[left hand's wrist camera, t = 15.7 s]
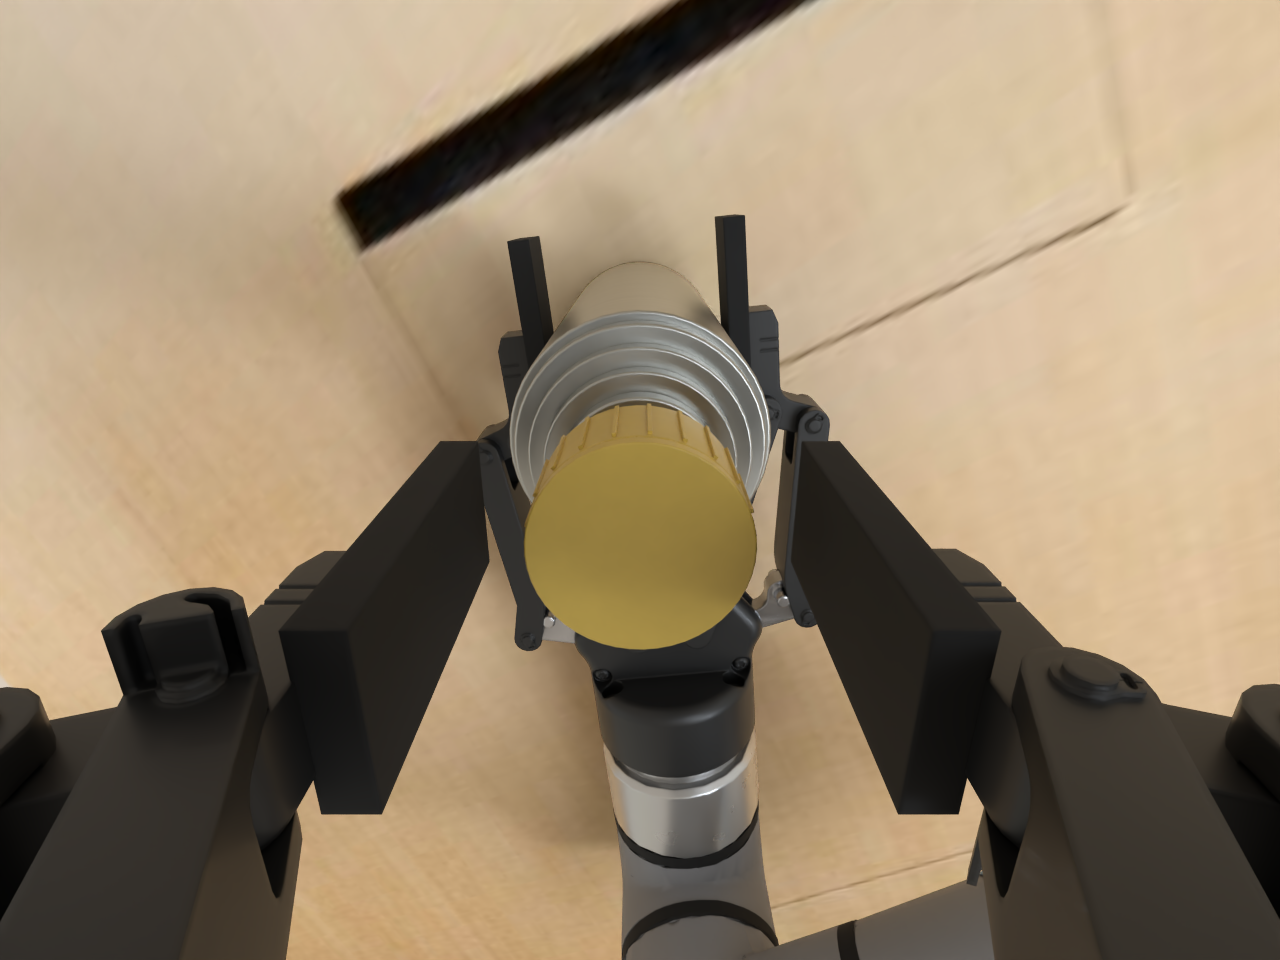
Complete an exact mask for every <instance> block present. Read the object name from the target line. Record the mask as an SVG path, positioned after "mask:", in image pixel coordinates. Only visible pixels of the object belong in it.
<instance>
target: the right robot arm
mask: <svg viewBox="0 0 1280 960" xmlns="http://www.w3.org/2000/svg"><path fill="white" fill-rule="evenodd" d="M715 228H716V245H717V263H718V280H719V297H720V315H721V326H722V327H723V329H724V330H725V332H726V333H727V334H728V336H729V337H730V339H731V340H732V342H733V343H734V345H735V346H736V347H737V349H738V350H739V352H740V353H741V355H742V356H743V358H744V359H745V361H746V362H747V363H748V365H749V367H750V368H751V370H752V371H753V373H754V374H755V376H756V378H757V380H758V382H759V384H760V386H761V389H762V391H763V393H764V397H765V400H766V403H767V407H768V412H769V418H770V425H771V442H770V450H769V453H770V451H771V448H772V445H773V442H774V439H775V436H776V433H777V430H778V429H782V430H784V439H783V451H782V462H781V473H780V485H779V496H778V507H777V518H776V530H775V541H774V556H775V563H776V567H777V570H776V569H773V570H771V571H770V572H769V573H768V575H767V577H766V578H765V580H764V590H763V592H762V594H761V595H760V596H759V597H758V598H755V599H752V598H751V597H750V596H749V595H748V594H747V593H746V591H745V592H744V593H743V595H742V597H741V598H740V600H739V601H738V603H737V604H736V605H735V606H734V608H733V609H732V610H731V611H730V612H729V613H728V614H727V615H726V616H725V617H724V618H723V619H722V620H721V621H720V622H718V623H717V624H716V625H714V626H713V627H712V628H711V629H709V630H707V631H705V632H704V633H702V634H700V635H699V636H697V637H694V638H692V639H690V640H687V641H685V642H682V643H679V644H675V645H672V646H667V647H662V648H655V649H626V648H618V647H613V646H609V645H605V644H601V643H599V642H596V641H593V640H591V639H588V638H586V637H584V636H582V635H580V634H578V633H577V632H575V631H573V630H572V629H571V628H569V627H568V626H566V625H565V624H563V623H562V622H561V621H560V620H559V619H558V618H556V617H555V616H554V615H553V614H552V613H551V611H550V610H549V609H548V608H547V607H546V606H545V605H544V603H543V602H542V600H541V599H540V597H539V596H538V594H537V592H536V590H535V588H534V586H533V584H532V582H531V580H530V577H529V574H528V571H527V568H526V562H525V557H524V535H525V527H524V526H525V521H526V518H527V516H528V513H529V510H530V508H531V505H530V501H529V498H528V497H527V495H526V493H525V492H524V490H523V488H522V486H521V483H520V481H519V479H518V477H517V474H516V470H515V467H514V464H513V460H512V454H511V448H510V422H511V413H512V409H513V405H514V401H515V398H516V395H517V392H518V390H519V388H520V385H521V383H522V381H523V379H524V377H525V375H526V374H527V372H528V370H529V369H530V367H531V365H532V364H533V363H534V361H535V360H536V358H537V357H538V355H539V354H540V352H541V351H542V349H543V348H544V347H545V345H546V344H547V342H548V341H549V339H550V338H551V336H552V335H553V333H554V331H553V325H552V318H551V311H550V305H549V298H548V291H547V284H546V278H545V271H544V264H543V258H542V251H541V244H540V238H539V236H536V237H527V238H519V239H515V240H511V241H507V243H508V249H509V255H510V261H511V267H512V273H513V279H514V285H515V291H516V297H517V303H518V309H519V315H520V321H521V327H522V330H520V331H510V332H507V333H506V334H505V335H504V336H503V337H502V338H501V341H500V346H499V351H498V353H499V359H500V364H501V370H502V375H503V381H504V386H505V392H506V397H507V403H508V408H509V418H508V419H506V420H505V421H503V422H501V423H498V424H496V425H490V426H488V427H486V429H485V430H484V431H483V432H482V434H481V435H480V436H479V438H478V439H477V441H478V444H479V455H480V466H481V476H482V487H483V498H484V506H485V509H486V512H487V515H488V518H489V521H490V524H491V527H492V530H493V533H494V536H495V540H496V543H497V546H498V549H499V552H500V555H501V558H502V561H503V564H504V567H505V570H506V573H507V576H508V579H509V582H510V585H511V588H512V591H513V594H514V598H515V601H516V604H517V615H516V627H515V643H516V645H517V646H518V647H519V648H521V649H522V650H525V651H533V650H535V649H537V648H538V647H539V646H540V645H541V642H542V640H550V641H558V642H567V643H575V645H576V648H577V650H578V651H579V653H580V654H581V655H582V656H583V657H584V658H585V660H586V661H587V663H588V664H589V666H590V669H591V674H592V680H593V687H594V693H595V699H596V705H597V712H598V718H599V724H600V730H601V736H602V739H603V741H604V746H603V751H604V757H605V763H606V768H607V774H608V780H609V786H610V791H611V797H612V803H613V811H614V815H615V820H616V824H617V831H618V839H619V848H620V856H621V865H622V878H623V907H622V960H995V959H994V952H993V945H992V938H991V930H990V923H989V916H988V909H987V901H986V894H985V887H984V880H983V872H982V871H981V872H980V874H979V878H978V882H977V886H972V885H969V884H966V883H967V880H965V881H962V882H959V883H957V884H954V885H951V886H948V887H946V888H943V889H940V890H938V891H935V892H932V893H930V894H927V895H924V896H922V897H919V898H916V899H914V900H911V901H908V902H905V903H903V904H900V905H897V906H895V907H892V908H889V909H887V910H884V911H881V912H879V913H876V914H873V915H870V916H868V917H865V918H862V919H860V920H855V921H850V922H847V923H844V924H841V925H838V926H835V927H832V928H829V929H826V930H823V931H820V932H817V933H814V934H811V935H808V936H805V937H802V938H799V939H797V940H794V941H791V942H788V943H785V944H782V945H779V944H778V939H777V937H776V935H775V929H774V924H773V919H772V913H771V908H770V903H769V897H768V892H767V887H766V881H765V875H764V868H763V859H762V848H761V837H760V826H759V814H758V810H759V801H758V796H759V782H758V765H757V748H756V733H755V728H754V724H755V708H754V688H753V668H752V652H753V648H754V646H755V644H756V642H757V640H758V639H759V637H760V635H761V632H762V628H763V627H766V626H770V625H773V624H776V623H780V622H783V621H787V620H790V619H793V618H794V619H795V621H796V623H797V624H798V625H800V626H802V627H812V626H814V625H816V624H817V622H816V620H815V618H814V615H813V613H812V611H811V608H810V606H809V604H808V601H807V599H806V597H805V594H804V592H803V589H802V587H801V585H800V582H799V580H798V578H797V575H796V573H795V571H794V568H793V566H792V564H791V551H792V540H793V530H794V519H795V508H796V498H797V487H798V476H799V466H800V455H801V444H802V441H828V436H829V428H830V422H829V418H828V416H827V415H826V413H825V412H824V411H823V410H822V409H821V408H820V407H819V406H818V405H817V404H816V402H815V401H814V400H813V399H812V398H811V397H809V396H808V395H804V394H799V395H796V394H792V393H788V392H785V391H782V390H781V388H780V373H779V340H778V337H779V335H778V321H777V319H776V317H775V315H774V312H773V310H772V309H771V308H769V307H768V306H767V305H759V306H749V303H748V279H747V256H746V232H745V215H726V216H717V217H715ZM756 492H757V491H756ZM756 492H755V494H754V496H753V497H752V499H751V501H750V502H751V505H752V503H753V500H754V498H755V495H756Z"/></svg>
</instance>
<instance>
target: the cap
mask: <svg viewBox="0 0 1280 960" xmlns="http://www.w3.org/2000/svg"><path fill="white" fill-rule="evenodd" d="M533 497H534V499H533V502H532V505H531V508H530V510H529V513H528V516H527V518H526V521H525V526H524V527H525V535H524V557H525V562H526V568H527V571H528V574H529V577H530V580H531V582H532V584H533V586H534V588H535V590H536V592H537V594H538V596H539V597H540V599H541V600H542V602H543V603H544V605H545V606H546V607H547V608H548V609H549V610H550V611H551V613H552V614H553V615H554V616H555V617H556V618H558V619H559V620H560V621H561V622H562V623H563V624H565V625H566V626H568V627H569V628H571V629H572V630H573V631H575V632H577V633H578V634H580V635H582V636H584V637H586V638H588V639H591V640H593V641H596V642H599V643H601V644H605V645H609V646H613V647H618V648H626V649H655V648H662V647H667V646H672V645H675V644H679V643H682V642H685V641H687V640H690V639H692V638H694V637H697V636H699V635H700V634H702V633H704V632H705V631H707V630H709V629H711V628H712V627H713V626H714V625H716V624H717V623H718V622H720V621H721V620H722V619H723V618H724V617H725V616H726V615H727V614H728V613H729V612H730V611H731V610H732V609H733V608H734V606H735V605H736V604H737V603H738V601H739V600H740V598H741V597H742V595H743V593H744V592H745V590H746V588H747V586H748V584H749V581H750V579H751V576H752V573H753V570H754V566H755V562H756V553H757V537H756V530H755V525H754V520H753V517H752V515H751V513H754V511H753V507H752V505H751V502H750V499H749V497H748V494H747V491H746V489H745V486H744V483H743V481H742V478H741V475H740V473H739V474H738V473H737V470H736V467H735V465H734V462H733V459H732V456H731V454H730V451H729V449H728V447H726V448H724V447H723V445H722V444H721V443H720V441H719V440H718V439H717V438H716V437H715V436H714V435H713V434H712V433H711V432H710V429H709V427H708V426H707V425H706V426H705V427H704V426H703V425H701V424H700V423H698V422H697V421H695V420H693V419H692V418H690V417H688V416H686V415H684V414H683V413H682V411H680V410H678V412H677V411H673V410H670V409H667V408H662V407H656V406H651V404H649V403H647V405H634V406H623V407H619V405H618V406H615V408H614V409H610V410H607V411H604V412H602V413H599V414H597V415H595V416H593V417H591V418H590V417H589V416H588V417H586V418H585V421H584V422H582V423H581V424H579V425H578V426H577V427H575V428H574V429H573V430H572V431H571V432H570V433H569V434H567V435H566V436H565V435H563V436H562V437H561V439H560V442H559V445H558V446H557V447H556V449H555V451H554V452H553V454H552V456H551V457H550V459H549V460H548V459H546V461H545V463H544V466H543V469H542V471H541V474H540V477H539V479H538V482H537V485H536V487H535V490H534V493H533Z"/></svg>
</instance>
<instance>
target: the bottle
mask: <svg viewBox="0 0 1280 960" xmlns="http://www.w3.org/2000/svg"><path fill="white" fill-rule="evenodd" d="M647 403H649V404H651V406H656V407H662V408H667V409H670V410H673V411H677V412H678V410H680V411H682V413H683V414H684V415H686V416H688V417H690V418H692V419H693V420H695V421H697V422H698V423H700V424H701V425H703V426H704V427H705V426H706V425H707V426H708V427H709V429H710V432H711V433H712V434H713V435H714V436H715V437H716V438H717V439H718V440H719V441H720V443H721V444H722V445H723V447H724V448H726V447H728V449H729V451H730V454H731V456H732V459H733V462H734V465H735V467H736V470H737V473H738V474H739V473H740V475H741V478H742V481H743V483H744V486H745V489H746V491H747V494H748V497H749V499H750V501H751V499H752V497H753V496H754V494H755V492H756V491H757V489H758V487H759V485H760V482H761V480H762V477H763V475H764V473H765V469H766V465H767V461H768V458H769V450H770V442H771V425H770V418H769V412H768V407H767V403H766V400H765V397H764V393H763V391H762V389H761V386H760V384H759V382H758V380H757V378H756V376H755V374H754V373H753V371H752V370H751V368H750V367H749V365H748V363H747V362H746V361H745V359H744V358H743V356H742V355H741V353H740V352H739V350H738V349H737V347H736V346H735V345H734V343H733V342H732V340H731V339H730V337H729V336H728V334H727V333H726V332H725V330H724V329H723V327H722V326H721V324H720V323H719V321H718V320H717V319H716V317H715V316H714V314H713V313H712V311H711V310H710V308H709V307H708V306H707V304H706V303H705V301H704V300H703V298H702V297H701V295H700V294H699V293H698V291H697V290H696V289H695V287H694V286H693V285H692V284H691V283H690V282H689V281H688V280H687V279H686V278H684V277H683V276H682V275H680V274H679V273H677V272H676V271H674V270H672V269H670V268H668V267H665V266H662V265H659V264H654V263H649V262H632V263H626V264H621V265H618V266H615V267H613V268H610V269H608V270H607V271H605V272H603V273H601V274H600V275H599V276H597V277H596V278H595V279H593V280H592V281H591V282H590V283H589V284H588V285H587V286H586V288H585V289H584V290H583V292H582V293H581V294H580V296H579V297H578V299H577V300H576V301H575V303H574V304H573V306H572V307H571V309H570V310H569V312H568V313H567V315H566V316H565V317H564V319H563V320H562V322H561V323H560V325H559V326H558V328H557V329H556V331H555V332H554V333H553V335H552V336H551V338H550V339H549V341H548V342H547V344H546V345H545V347H544V348H543V349H542V351H541V352H540V354H539V355H538V357H537V358H536V360H535V361H534V363H533V364H532V365H531V367H530V369H529V370H528V372H527V374H526V375H525V377H524V379H523V381H522V383H521V385H520V388H519V390H518V392H517V395H516V398H515V401H514V405H513V409H512V413H511V422H510V448H511V454H512V460H513V464H514V467H515V470H516V474H517V477H518V479H519V481H520V483H521V486H522V488H523V490H524V492H525V493H526V495H527V497H528V498H529V500H530V501H531V503H532V502H533V499H534V497H533V493H534V490H535V487H536V485H537V482H538V479H539V477H540V474H541V471H542V469H543V466H544V463H545V461H546V459H548V460H549V459H550V457H551V456H552V454H553V452H554V451H555V449H556V447H557V446H558V445H559V442H560V439H561V437H562V436H563V435H565V436H566V435H567V434H569V433H570V432H571V431H572V430H573V429H574V428H575V427H577V426H578V425H579V424H581V423H582V422H584V421H585V418H586V417H588V416H589V417H590V418H591V417H593V416H595V415H597V414H599V413H602V412H604V411H607V410H610V409H614V408H615V406H618V405H619V407H623V406H634V405H647Z"/></svg>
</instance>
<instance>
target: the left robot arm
mask: <svg viewBox="0 0 1280 960" xmlns="http://www.w3.org/2000/svg"><path fill="white" fill-rule="evenodd" d="M488 564H489V551H488V540H487V530H486V519H485V508H484V498H483V487H482V476H481V466H480V455H479V444H478V441H440V442H439V443H438V445H437V446H436V447H435V448H434V449H433V450H432V452H431V453H430V454H429V455H428V456H427V458H426V459H425V460H424V461H423V462H422V463H421V465H420V466H419V467H418V468H417V469H416V470H415V472H414V473H413V474H412V475H411V476H410V477H409V479H408V480H407V481H406V482H405V483H404V484H403V486H402V487H401V488H400V489H399V490H398V491H397V493H396V494H395V495H394V496H393V497H392V498H391V500H390V501H389V502H388V503H387V504H386V505H385V507H384V508H383V509H382V510H381V511H380V512H379V514H378V515H377V516H376V517H375V518H374V519H373V521H372V522H371V523H370V524H369V525H368V527H367V528H366V529H365V530H364V531H363V532H362V534H361V535H360V536H359V537H358V538H357V539H356V541H355V542H354V543H353V544H352V545H351V546H350V548H349V549H348V550H347V551H324V552H322V553H320V554H319V555H317V556H315V557H313V558H312V559H310V560H308V561H306V562H305V563H303V564H301V565H299V566H297V567H296V568H295V569H294V570H293V571H292V572H291V573H290V575H289V576H288V577H287V578H286V579H285V580H284V581H283V582H282V583H281V584H280V585H279V589H275V590H274V591H273V592H272V593H271V594H270V595H269V597H268V598H267V599H266V600H265V603H264V605H260V606H259V607H258V608H257V609H256V610H255V611H254V612H253V613H252V614H251V615H250V616H249V617H248V616H247V612H246V608H245V604H244V600H243V597H241V596H240V595H239V594H237V593H236V592H234V591H233V590H228V589H222V588H216V587H210V588H195V589H187V590H183V591H178V592H174V593H169V594H165V595H162V596H159V597H156V598H154V599H151V600H148V601H146V602H143V603H140V604H138V605H136V606H134V607H132V608H130V609H129V610H127V611H125V612H123V613H122V614H120V615H118V616H116V617H115V618H114V619H113V620H112V621H111V622H110V623H109V624H108V625H107V626H106V627H105V628H103V629H102V630H101V633H102V635H103V638H104V641H105V644H106V647H107V650H108V652H109V655H110V658H111V661H112V664H113V667H114V670H115V672H116V675H117V678H118V681H119V684H120V687H121V690H122V692H123V697H122V699H121V701H120V703H119V705H118V706H117V707H114V708H110V709H105V710H100V711H94V712H89V713H84V714H79V715H74V716H69V717H64V718H59V719H54V720H49V719H48V717H47V714H46V712H45V709H44V707H43V704H42V702H41V699H40V697H39V696H38V695H37V694H35V693H34V692H32V691H31V690H29V689H24V688H11V687H5V688H0V960H286V954H287V947H288V940H289V932H290V925H291V918H292V911H293V903H294V896H295V889H296V881H297V874H298V867H299V860H300V852H301V845H302V833H301V826H300V821H299V817H298V814H297V808H298V806H299V804H300V803H301V801H302V799H303V797H304V796H305V794H306V792H307V790H308V789H309V787H310V785H311V783H312V782H313V781H314V785H315V789H316V793H317V798H318V802H319V806H320V810H321V814H382V813H383V810H384V808H385V806H386V803H387V801H388V799H389V796H390V794H391V791H392V789H393V787H394V784H395V782H396V780H397V777H398V775H399V773H400V770H401V768H402V766H403V763H404V761H405V759H406V756H407V754H408V752H409V749H410V747H411V745H412V742H413V740H414V737H415V735H416V733H417V730H418V728H419V726H420V723H421V721H422V719H423V716H424V714H425V712H426V709H427V707H428V705H429V702H430V700H431V698H432V695H433V693H434V690H435V688H436V686H437V683H438V681H439V679H440V676H441V674H442V672H443V669H444V667H445V665H446V662H447V660H448V658H449V655H450V653H451V651H452V648H453V646H454V644H455V641H456V639H457V636H458V634H459V632H460V629H461V627H462V625H463V622H464V620H465V618H466V615H467V613H468V611H469V608H470V606H471V604H472V601H473V599H474V597H475V594H476V592H477V589H478V587H479V585H480V582H481V580H482V578H483V575H484V573H485V571H486V568H487V566H488ZM791 564H792V566H793V568H794V571H795V573H796V575H797V578H798V580H799V582H800V585H801V587H802V589H803V592H804V594H805V597H806V599H807V601H808V604H809V606H810V608H811V611H812V613H813V615H814V618H815V620H816V622H817V625H818V627H819V629H820V632H821V634H822V636H823V639H824V641H825V644H826V646H827V648H828V651H829V653H830V655H831V658H832V660H833V662H834V665H835V667H836V669H837V672H838V674H839V676H840V679H841V681H842V683H843V686H844V688H845V690H846V693H847V695H848V698H849V700H850V702H851V705H852V707H853V709H854V712H855V714H856V716H857V719H858V721H859V723H860V726H861V728H862V730H863V733H864V735H865V737H866V740H867V742H868V745H869V747H870V749H871V752H872V754H873V756H874V759H875V761H876V763H877V766H878V768H879V770H880V773H881V775H882V777H883V780H884V782H885V784H886V787H887V789H888V791H889V794H890V796H891V799H892V801H893V803H894V806H895V808H896V810H897V813H898V814H959V810H960V806H961V802H962V798H963V793H964V789H965V785H966V781H967V778H968V780H969V781H970V783H971V785H972V787H973V788H974V790H975V792H976V794H977V795H978V797H979V799H980V801H981V802H982V804H983V806H984V810H983V814H982V817H981V821H980V825H979V829H978V833H977V837H976V841H975V845H974V849H973V853H972V857H971V861H970V865H969V869H968V876H967V883H966V884H969V885H972V886H977V882H978V878H979V874H980V871H981V870H982V872H983V880H984V887H985V894H986V901H987V909H988V916H989V923H990V930H991V938H992V945H993V952H994V959H995V960H1280V685H1278V684H1267V685H1254V686H1252V687H1250V688H1249V689H1247V690H1246V691H1244V692H1243V693H1242V694H1241V697H1240V699H1239V702H1238V704H1237V707H1236V709H1235V712H1234V714H1233V717H1228V716H1222V715H1217V714H1212V713H1207V712H1202V711H1197V710H1192V709H1187V708H1182V707H1177V706H1171V705H1167V704H1163V703H1161V701H1160V699H1159V698H1158V696H1157V694H1156V693H1155V692H1154V691H1153V690H1152V688H1151V687H1150V686H1149V685H1148V684H1147V683H1146V681H1145V680H1144V679H1143V678H1141V677H1140V676H1138V675H1137V674H1135V673H1134V672H1132V671H1131V670H1129V669H1128V668H1126V667H1125V666H1123V665H1121V664H1119V663H1117V662H1114V661H1112V660H1110V659H1108V658H1105V657H1103V656H1101V655H1099V654H1095V653H1091V652H1087V651H1083V650H1079V649H1076V648H1069V647H1063V646H1062V645H1061V644H1060V643H1059V642H1058V641H1057V640H1056V639H1055V638H1054V637H1053V636H1052V635H1051V634H1050V633H1049V632H1048V631H1047V630H1046V629H1045V628H1044V627H1043V626H1042V625H1041V623H1040V622H1039V621H1038V620H1037V619H1036V618H1035V617H1034V616H1033V615H1032V614H1031V613H1030V612H1029V611H1028V610H1027V609H1026V608H1025V607H1024V606H1023V605H1022V604H1021V603H1020V602H1016V598H1015V596H1014V595H1013V594H1012V593H1011V592H1010V591H1009V590H1008V589H1007V588H1006V587H1002V586H1001V582H1000V581H999V580H998V579H997V578H996V577H995V576H994V575H993V574H992V573H991V572H990V571H989V569H988V568H987V567H986V566H985V565H984V564H982V563H980V562H978V561H977V560H975V559H973V558H971V557H969V556H968V555H966V554H964V553H962V552H961V551H959V550H957V549H931V548H930V546H929V545H928V544H927V543H926V542H925V541H924V539H923V538H922V537H921V536H920V535H919V534H918V532H917V531H916V530H915V529H914V528H913V527H912V525H911V524H910V523H909V522H908V521H907V520H906V518H905V517H904V516H903V515H902V514H901V512H900V511H899V510H898V509H897V508H896V507H895V505H894V504H893V503H892V502H891V501H890V500H889V498H888V497H887V496H886V495H885V494H884V493H883V491H882V490H881V489H880V488H879V487H878V486H877V484H876V483H875V482H874V481H873V480H872V479H871V477H870V476H869V475H868V474H867V473H866V472H865V470H864V469H863V468H862V467H861V466H860V465H859V463H858V462H857V461H856V460H855V459H854V458H853V456H852V455H851V454H850V453H849V452H848V450H847V449H846V448H845V447H844V446H843V445H842V443H841V442H840V441H802V444H801V455H800V466H799V476H798V487H797V498H796V508H795V519H794V530H793V540H792V551H791Z"/></svg>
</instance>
